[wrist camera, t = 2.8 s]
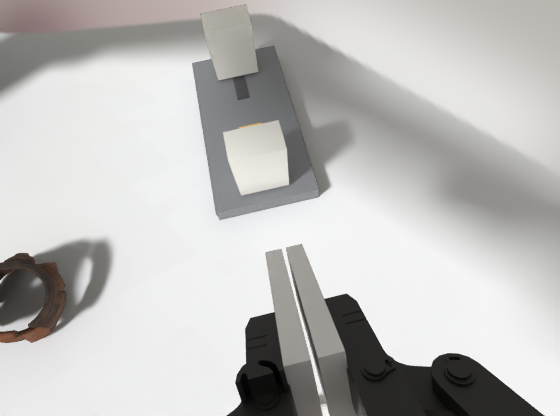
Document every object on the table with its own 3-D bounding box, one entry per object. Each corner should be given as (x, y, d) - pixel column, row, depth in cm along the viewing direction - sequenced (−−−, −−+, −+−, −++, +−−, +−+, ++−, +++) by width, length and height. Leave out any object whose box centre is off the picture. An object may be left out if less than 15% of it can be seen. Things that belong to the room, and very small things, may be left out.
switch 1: (258, 71, 44) (251, 23, 38) (218, 80, 44) (204, 33, 38) (253, 54, 46) (245, 4, 39) (214, 62, 46) (200, 13, 39)
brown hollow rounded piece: (45, 241, 39) (28, 232, 32) (92, 304, 40) (86, 309, 33) (-77, 307, 34) (-131, 315, 26) (-19, 379, 34) (-56, 405, 27)
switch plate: (318, 197, 39) (319, 189, 37) (219, 219, 38) (215, 212, 36) (270, 43, 50) (269, 31, 48) (193, 59, 49) (189, 48, 47)
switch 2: (289, 184, 37) (286, 148, 30) (241, 195, 37) (228, 161, 30) (282, 159, 38) (278, 119, 32) (236, 169, 38) (222, 132, 32)
